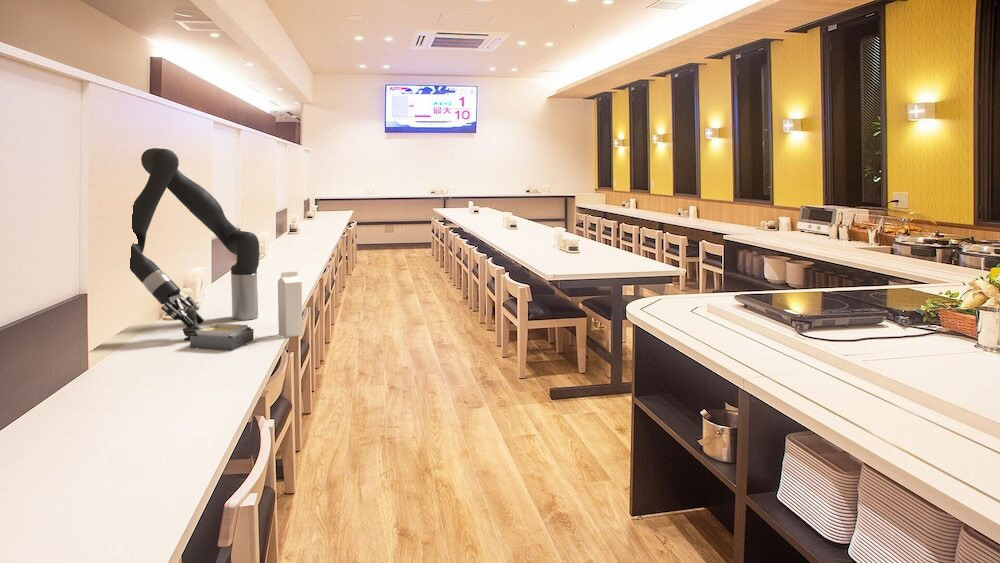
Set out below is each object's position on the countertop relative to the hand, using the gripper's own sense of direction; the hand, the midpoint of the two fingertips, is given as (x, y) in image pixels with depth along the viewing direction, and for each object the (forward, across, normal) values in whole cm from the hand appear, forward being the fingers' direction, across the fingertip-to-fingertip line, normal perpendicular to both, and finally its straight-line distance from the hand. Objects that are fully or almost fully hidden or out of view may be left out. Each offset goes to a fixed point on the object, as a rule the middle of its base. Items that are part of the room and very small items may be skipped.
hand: (196, 324), depth 226 cm
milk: (+22, +14, -15) cm, 30 cm away
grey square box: (+12, -4, -4) cm, 13 cm away
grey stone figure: (+3, 0, +5) cm, 6 cm away
